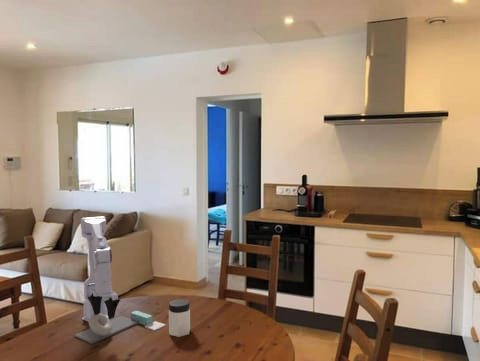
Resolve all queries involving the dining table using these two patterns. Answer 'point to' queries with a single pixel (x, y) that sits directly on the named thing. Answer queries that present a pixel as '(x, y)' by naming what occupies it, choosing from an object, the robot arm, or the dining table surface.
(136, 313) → the turner
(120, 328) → the slate board
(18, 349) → the dining table surface
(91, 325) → the donut
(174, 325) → the jar
